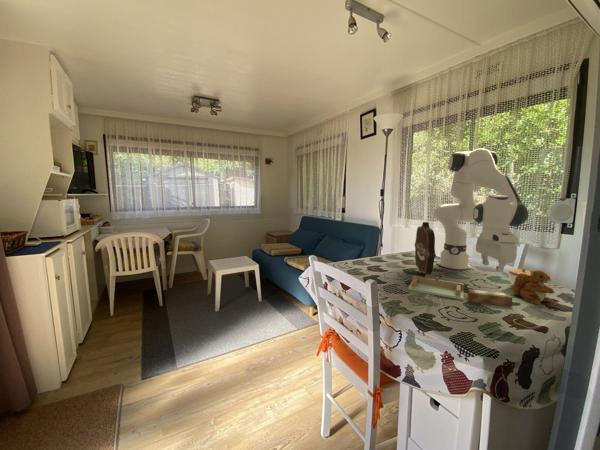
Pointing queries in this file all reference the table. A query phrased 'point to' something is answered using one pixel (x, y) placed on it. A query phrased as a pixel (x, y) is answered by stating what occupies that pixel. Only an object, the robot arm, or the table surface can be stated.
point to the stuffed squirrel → (532, 287)
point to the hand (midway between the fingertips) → (492, 267)
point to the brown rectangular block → (490, 297)
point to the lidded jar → (515, 272)
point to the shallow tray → (437, 287)
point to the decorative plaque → (425, 249)
